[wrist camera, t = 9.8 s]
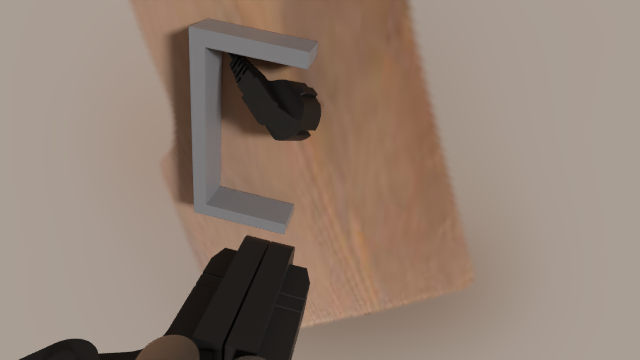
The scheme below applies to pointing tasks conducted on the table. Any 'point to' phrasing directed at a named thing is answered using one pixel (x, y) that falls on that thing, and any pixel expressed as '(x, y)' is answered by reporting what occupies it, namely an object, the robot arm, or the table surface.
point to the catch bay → (206, 116)
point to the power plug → (277, 102)
